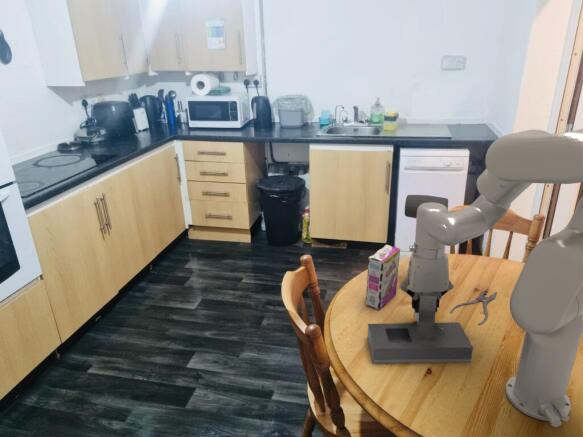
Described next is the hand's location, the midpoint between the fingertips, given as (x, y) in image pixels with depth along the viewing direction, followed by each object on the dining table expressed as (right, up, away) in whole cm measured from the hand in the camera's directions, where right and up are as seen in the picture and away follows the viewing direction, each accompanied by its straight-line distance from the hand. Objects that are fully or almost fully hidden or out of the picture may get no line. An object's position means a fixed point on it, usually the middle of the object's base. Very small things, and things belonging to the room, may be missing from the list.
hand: (424, 309), depth 119 cm
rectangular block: (-4, -9, -7) cm, 12 cm away
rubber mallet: (+5, +4, +23) cm, 24 cm away
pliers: (+18, -1, +11) cm, 21 cm away
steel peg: (0, -3, +1) cm, 3 cm away
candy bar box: (-9, 0, +14) cm, 17 cm away
